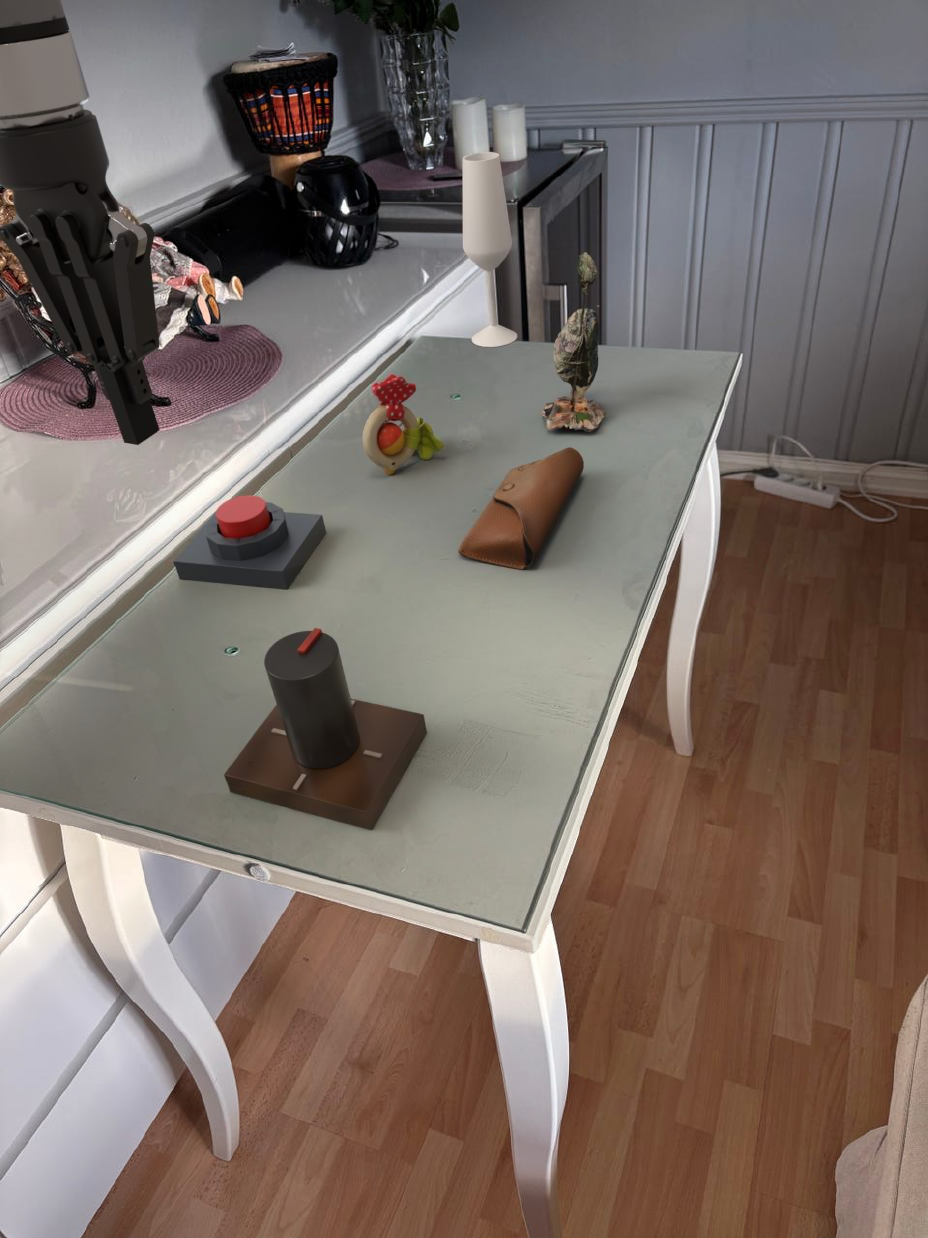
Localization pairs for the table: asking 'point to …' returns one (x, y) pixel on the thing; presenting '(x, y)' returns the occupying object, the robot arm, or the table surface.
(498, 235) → the champagne flute
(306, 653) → the dial
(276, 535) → the button box
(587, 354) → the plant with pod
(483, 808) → the table surface
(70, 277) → the robot arm
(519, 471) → the sunglasses case
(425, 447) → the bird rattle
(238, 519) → the button
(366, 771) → the knob panel
